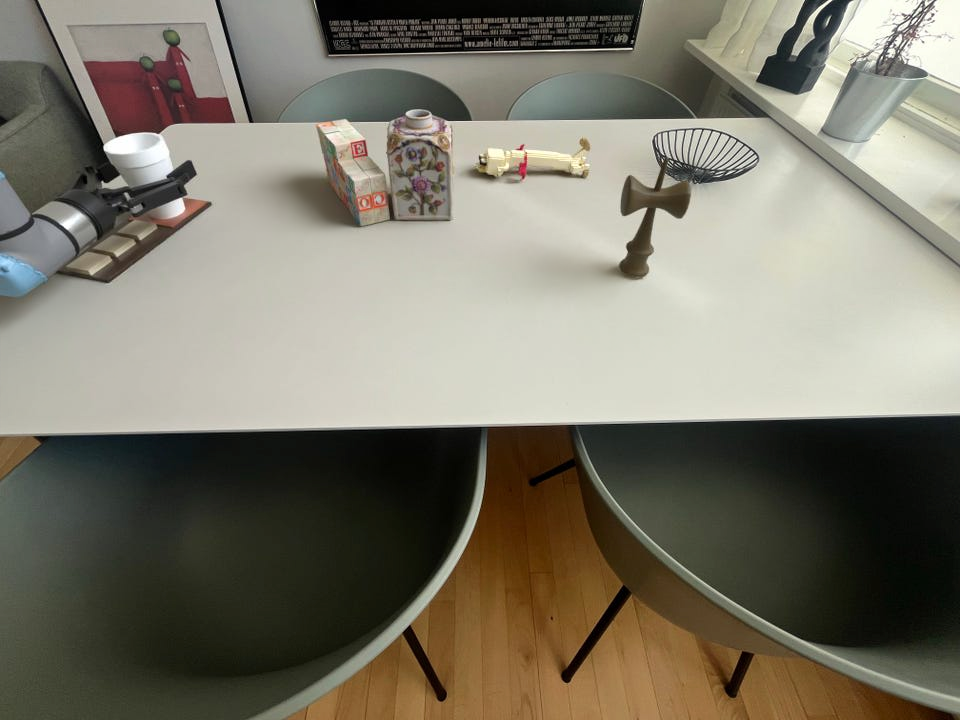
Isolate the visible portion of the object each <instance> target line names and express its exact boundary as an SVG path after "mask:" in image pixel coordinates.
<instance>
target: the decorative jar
mask: <svg viewBox="0 0 960 720" xmlns="http://www.w3.org/2000/svg"><path fill="white" fill-rule="evenodd" d="M386 129H387V134H386V139H387V141H386V152H385V153H386V158H387V166H388V176H389V184H390V185H389V186H390V193H391V194H390V195H391V202H392V209H393V216H394V220H395V221H452V220H453V219H454V218H453V217H454V214H453V213H454V173H455V172H454V170H455V167H454V155H453V153H454V152H453V143H454V142H453V141H454V137H453V132H454V130H453V125H452V123H451V122H450V121H448V120H446V119H444V118H442V117H438V116H437V115H433V114H432V112H430V111H429V110H427V109H419V108H418V109H410V110H408V111H405V115H404V116H401V117H397V118H395V119H392V120H390V121H389V123H388V126H387V128H386Z"/></svg>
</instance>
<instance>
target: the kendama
mask: <svg viewBox="0 0 960 720" xmlns="http://www.w3.org/2000/svg"><path fill="white" fill-rule="evenodd" d="M668 165H669V156H665V157H664V159H663V161H662V163H661V167H660V170H659V173H658V176H657V179H656V181H655V185H654V187H650V186H646V184H645V185H644V184H643V183H642V182H641V181H640V180H639V179H637V178H636V177H635V176H634V175H632V174H629V175H628V176H626V179H625V180H624V183H623V187H622V190H621V196H620V205H619V206H620V214H621V217H627V216H630V215H632V214H634V213H636V212H638V211H639V210H642V209H646V210H645V213H644V216H643V217H642V220H641V222H640V224H639V227H638V229H637V231H636V233H635V235H634V237H633V238H632V240H629V241H628V242H626V245H625V249H626V251H627V253H626V255H625V256H624V258H622V259H621V260H620V261H619V263H618V268H619V271H620V272H621V273H622V274H623V275H625V276H627V277H631V278H643V277H646V276H647V275H648V274H649V273H650V266H649V265H648V263H647V262H648V259H649V257H650V256H652V255H653V254H654V252H655V248H654V245H652V233H653V227H654V221H655V216H656V211H657V209H659V210H662V211H665V212H666V213H668V214H669V215H671V216H672V217H674V218H675V219H678V220H679V219H683V218H684V216H685V215H686V213H687V211H688V209H689V206H690V204H691V203H690V202H691V197H692V186H691V183H690V181H688V180H683V181H680V182H677V183H675V184H673V185H670V186H667V187H663V183H664V180H665V176H666V172H667V169H668Z"/></svg>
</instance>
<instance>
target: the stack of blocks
mask: <svg viewBox="0 0 960 720" xmlns="http://www.w3.org/2000/svg"><path fill="white" fill-rule="evenodd" d="M315 126H316V127H315V128H316V131H317V134H318V138H319V144H320V149H321V153H322V156H323V160H324V164H325V171H326V174H327V178H328V179H327V180H328V183H329V184H330V186H331V187H332V189H333V191H335V193H336V194H337V196H338V198H339V199H340V200H341V201H342V202H343V203H344V205H345V206H346V207H347V209H348V210H349V211H350V214H351V215H352V217H353V218H354V219H355V221H356V222H357V224H358V225H359V226H360V227H365V226H369V225H372V224H373V225H374V224H375V223H376V224H377V223H381V222H385V221H388V220H391V216H390V209H389V198H388V191H387V190H388V187H387V177H386V174H385V172H383V170H382V169H381V168H380V167H379V166H378V164H377V163H376V162H375V161H374V160H373V158H371V157H370V156H369V154H368V146H367V141H366V139H365V138H364V136H362V135H361V134H360V133H359V132H358V131H357V130H356V128H354V126H353V125H352V124H351V123H350V122H349V121H348V120H347V118H344V119H343V118H342V119H337V120H331V121H325V122H319V123H316V124H315Z"/></svg>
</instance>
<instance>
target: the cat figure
mask: <svg viewBox="0 0 960 720" xmlns="http://www.w3.org/2000/svg"><path fill="white" fill-rule="evenodd" d="M525 145H526V144H525V143H522V144H521V145H520V146H519V148H515V149H511V150H505V151H504V150H503V149H501V148H491V147H489V148H487V149H486V150H485V153H480V154H479V155H478V161H479V162H476V163H475V169H477V171H478V172H479V173H486V174H487V175H491V176H492V175H493V177H496V178H497V177H499V178H501V177H502V174H504V172H507V171H508V170H509V169H510V168H511V169H514V168H518V175H519V176H521V180H524V179H525V178H526V176H527V169H528V168H529V167H531V168H533V167H534V168H543V169H544V168H545V169H546V168H547V169H551V170H552V171H553V170H556V171H564V172H565V173H571V175H578V174H579V173H581V177H582V176H583V177H582V178H587V177H589V170H590V164H589V163H586V162H587V157H586V156H585V155H586V154H587V153H589V152H590V150H591V143H590V141H589V140H588V139H587V137H581V138H580V139H579V145H580V146H581V147H582V148H580V149H579V150H578V151H576V152H575V153H573V155H572V154H570V153H559V152H558V151H549V150H536V149H524V147H525ZM523 149H524V150H523ZM519 168H520V169H519Z"/></svg>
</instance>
